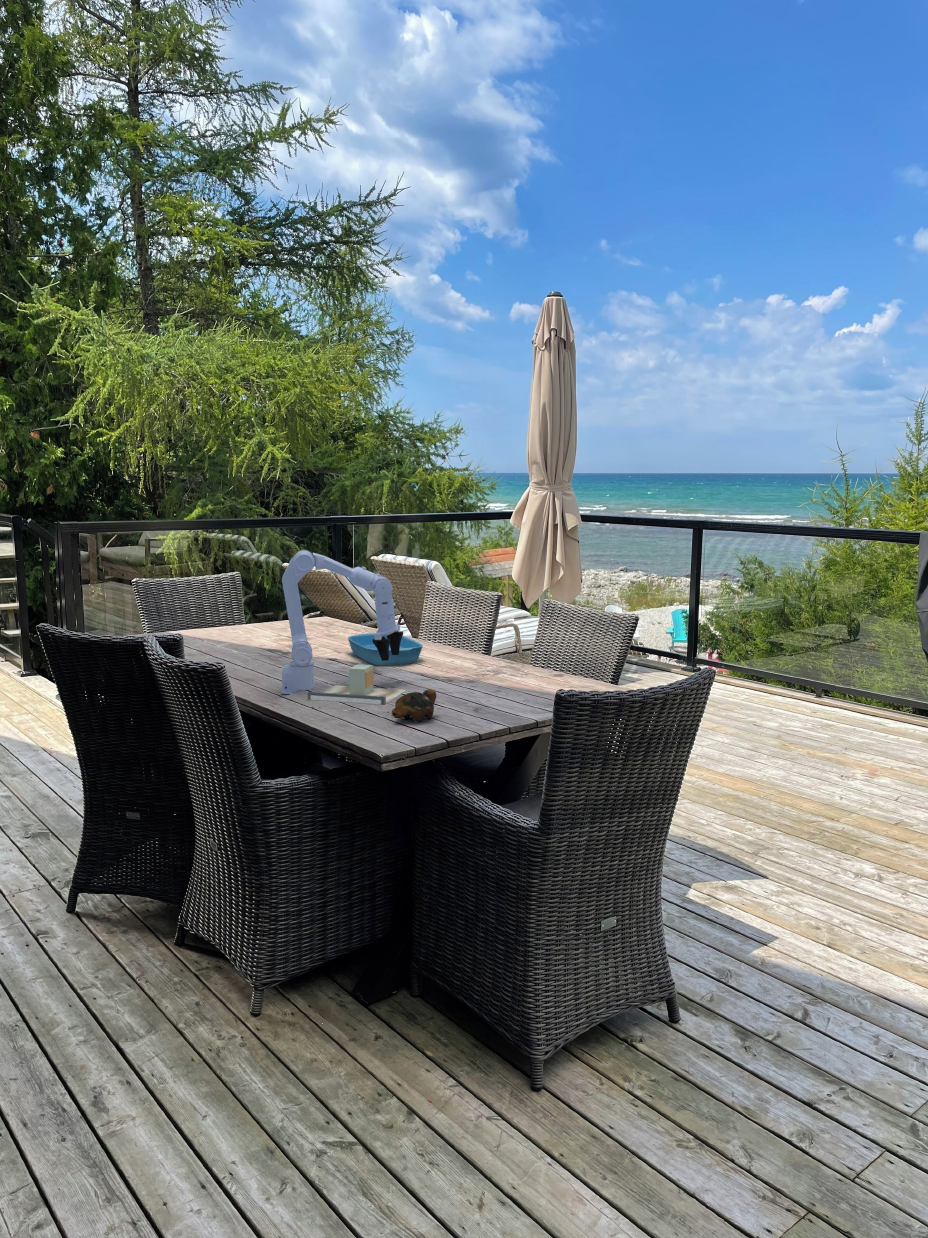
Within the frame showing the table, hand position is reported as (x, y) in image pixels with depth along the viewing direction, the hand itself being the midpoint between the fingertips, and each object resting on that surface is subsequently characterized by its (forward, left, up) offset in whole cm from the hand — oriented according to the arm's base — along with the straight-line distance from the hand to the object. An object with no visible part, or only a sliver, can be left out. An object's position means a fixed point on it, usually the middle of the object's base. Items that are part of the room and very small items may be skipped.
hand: (390, 657), depth 286 cm
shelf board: (-5, -15, -10) cm, 19 cm away
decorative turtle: (+19, -34, -11) cm, 40 cm away
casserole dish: (-20, +49, -11) cm, 54 cm away
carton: (-5, -13, -9) cm, 16 cm away
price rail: (-5, -25, -10) cm, 27 cm away
